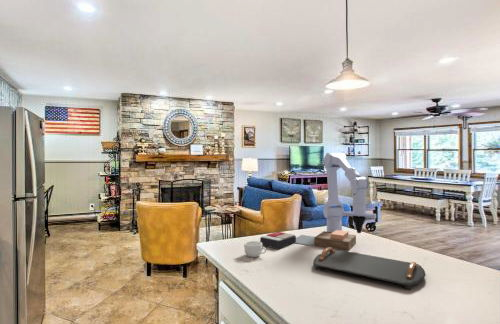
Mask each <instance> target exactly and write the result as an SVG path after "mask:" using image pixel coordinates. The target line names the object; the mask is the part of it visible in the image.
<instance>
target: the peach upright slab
mask: <svg viewBox="0 0 500 324" xmlns="http://www.w3.org/2000/svg"><path fill="white" fill-rule="evenodd" d="M348 234H349V231H346V230H342V231H340V230H335V231H334V232H333V233H331V236H330V238H333V239H340V240H344V239H345V238H346V237H347V236H348Z"/></svg>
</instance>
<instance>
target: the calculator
mask: <svg viewBox="0 0 500 324" xmlns="http://www.w3.org/2000/svg"><path fill="white" fill-rule="evenodd" d="M296 238H297V236H296V235H295V234H292V233H287V232H282V231H276V232H272V233H268V234H266V235H263V236H261V237H260V239H259V242H261V243H262V247H268V248H272V249H277V250H280V249H282V248H284V247H285V246H289V245H291V244H295V243H294V242H296Z"/></svg>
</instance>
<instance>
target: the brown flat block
mask: <svg viewBox="0 0 500 324" xmlns="http://www.w3.org/2000/svg"><path fill="white" fill-rule="evenodd" d="M331 233H333V232H327V230H326V231H321V232H320V233H319V234H318V235H315V236H314V245H313V246H315V247H321V248H325V249H326V248H327V247H331V248H333V250H342V251H348V252H350V250H351V249H352V248H353V247H354V246H355V245H356V244H357V234H356V235H355V234H350V233H348V236H347V237H346V238H345V239H344V240H340V239H333V238H330V236H331Z"/></svg>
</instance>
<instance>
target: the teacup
mask: <svg viewBox="0 0 500 324" xmlns="http://www.w3.org/2000/svg"><path fill="white" fill-rule="evenodd" d="M243 247H244V254H245V255H246V256H247V257H249V258H258V257H259V256H261V255H262V254H265V253H266V251H267V248H266V246H263V245H262V243H261V242H260V241H258V240H257V241H256V240H248V241H244V244H243ZM263 249H264V252H263Z"/></svg>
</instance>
